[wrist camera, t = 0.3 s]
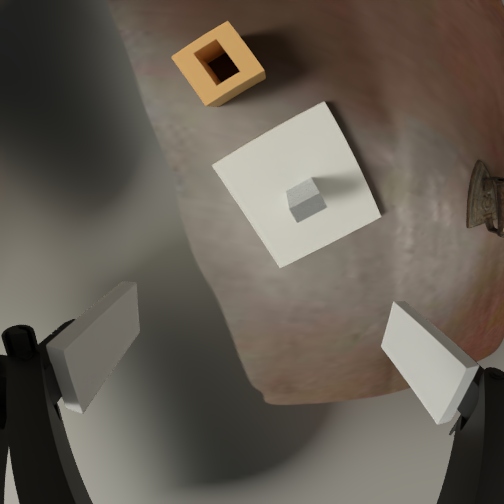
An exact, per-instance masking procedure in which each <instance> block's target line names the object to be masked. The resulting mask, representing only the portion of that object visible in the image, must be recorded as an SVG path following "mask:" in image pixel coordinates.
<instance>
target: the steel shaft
mask: <svg viewBox="0 0 504 504" xmlns="http://www.w3.org/2000/svg"><path fill="white" fill-rule="evenodd" d="M286 193H287V199H288V205H289V210H290V211H291V213H292V215H293V216H294V218H295V220H296V222H297V223H299V222H301V221H302V220H304V219H306V218H308V217H310V216H312V215H314V214H316V213H318V212H320V211H322V210H323V209H325V208H327V205H326V203H325V202H324V200H323V198H322V196H321V194H320V192H319V190H318V189H317V187H316V185H315V183H314V182H313V180H312V178H309V179H307V180H305V181H304V182H302V183H300V184H298V185H296V186H294V187H292V188H291V189H289V190H287V191H286Z"/></svg>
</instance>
